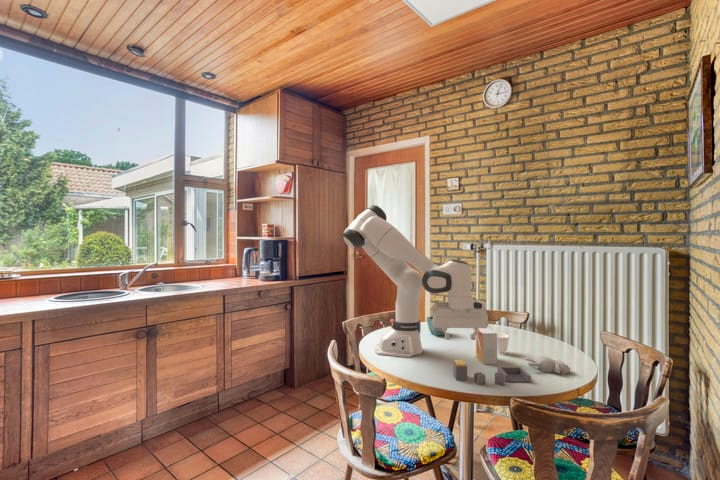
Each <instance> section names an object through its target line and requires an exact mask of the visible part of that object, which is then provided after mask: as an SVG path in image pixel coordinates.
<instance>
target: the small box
mask: <svg viewBox="0 0 720 480" xmlns="http://www.w3.org/2000/svg"><path fill="white" fill-rule="evenodd" d="M497 334H498V333H497V332H495V331H494V330H493V329H491V328H490V327H489V328H488V327H487V328H479V331H478V333H477V334H476V340H475V341H476V342H475V348H476V349H475V351H476V352H475V353H476V355H475V356H476V357H475V358H477V359H478V360H479V362H481V364H482V365H495V364H496V365H497V364H498V354H497Z"/></svg>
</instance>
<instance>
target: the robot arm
mask: <svg viewBox="0 0 720 480" xmlns="http://www.w3.org/2000/svg"><path fill="white" fill-rule="evenodd" d="M342 238H343V241H344V243H345V244H346V245H347V246H348V247H350V248H352V249H353V250H356V249H357V250H358V249H361V248H362V249H363V251H364V252H365V253H366V255H368V256H369V257H370V259H371V260H372V261H373V262H374V263H375V264H376V265H377V266H378V267H379V269H381V271H383V273H384V274H385V275H386V276H387V277H388V278H389V279H390V280H391V282H392V283H394V284H395V285H396V286H397V287H396V288H397V289H396V300H395V319H393V318H391V319H390V321H389V322H390V325H391V327H390V328H389V329H387V331H385V332H384V333H383V334H382V335H381V336H380V339H379V343H377V344H376V345H375V346H374V352H375V353H376V354H377V355H378V356H379V355H381V356H389V357H390V356H392V357H403V358H411V357H413V356H417V355H420V354H422V353H423V352H424V349H423V346H422V341H421V340H422V339H421V331H422V329H421V326H422V325H421V324H422V323H421V320H420V300H421V296H422V295H421V294H422V287H423V288H424V290H425V291H426V292H428V293H429V294H442V293H447V294H446V295H447V302H435V303H434V304H432V305H431V313H432V317H433V326H434V327H435V328H442V330H443V332H444V338H445V340H446V341H447V340H451V338H450V337H451V335H450V333H447V331H448V329H473V330H474V331H473V333H470V334H469V335H470V340H471V341H476V334H477V333H478V331H479V328H488V327H489V317H488V311H487V310H486V304H485V302H484V301H482V300H479V299H477V298H472V297H473V293H472V289H471V287H472V285H473V284H472V283H473V282H472V270H471V266H470V264H469V263H468V262H467V261H465V260H461V259H460V260H459V259H449V260H448V261H446V262H445V263H443V264H441V265H440V264H438V263H435V261H434V262H433V261H432V260H431V259H430V258H428V257H427V256H426V255H425V254H424V253H422V252H421V251H420V250H419V249H417V248H416V247H415V246H414V245H413V244H412V243H411V242H410V241H409V240H408V238H407V237H406V236H405V235H403V233H402V232H401V231H399V230H398V229H397V228H396V227H395V226H394V225H392V224H391V223H390V222H389V221H387V213H385V211H384V210H383V209H382V208H381V207H380V206H378V205H375V204H373V205H370V206H368V207H367V208H366V209H365V210H364V211H363V212H361V213H360V214H358V216H357V217H356V218H355V219H354V220H353V221H352V222H351V223H350V225H348V227H346V228H345V230H344V231H343V233H342ZM408 263H409V264H408ZM410 264H411V265H412V266H413V267H414V268H416V269H417V270H416V269H414V268H412V267H411V265H410ZM420 272H421V273H422V275H421V274H420ZM445 331H446V332H445Z"/></svg>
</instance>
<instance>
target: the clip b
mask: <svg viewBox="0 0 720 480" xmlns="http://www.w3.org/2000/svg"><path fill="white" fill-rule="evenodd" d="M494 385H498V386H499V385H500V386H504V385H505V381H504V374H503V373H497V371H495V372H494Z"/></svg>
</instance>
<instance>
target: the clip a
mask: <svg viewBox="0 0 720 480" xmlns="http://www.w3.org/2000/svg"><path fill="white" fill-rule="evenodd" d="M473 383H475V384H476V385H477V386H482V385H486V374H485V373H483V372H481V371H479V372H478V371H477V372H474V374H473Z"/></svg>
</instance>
